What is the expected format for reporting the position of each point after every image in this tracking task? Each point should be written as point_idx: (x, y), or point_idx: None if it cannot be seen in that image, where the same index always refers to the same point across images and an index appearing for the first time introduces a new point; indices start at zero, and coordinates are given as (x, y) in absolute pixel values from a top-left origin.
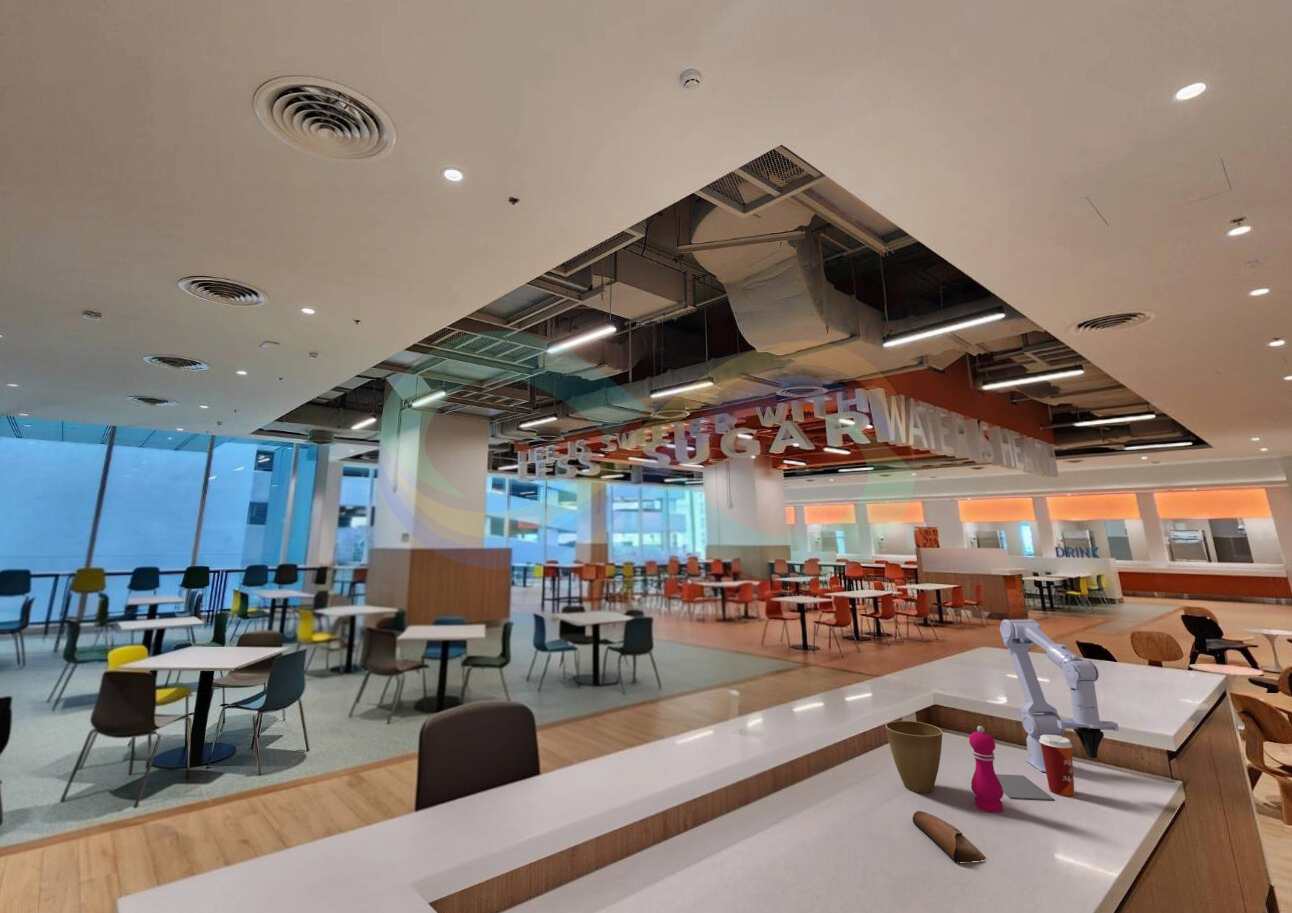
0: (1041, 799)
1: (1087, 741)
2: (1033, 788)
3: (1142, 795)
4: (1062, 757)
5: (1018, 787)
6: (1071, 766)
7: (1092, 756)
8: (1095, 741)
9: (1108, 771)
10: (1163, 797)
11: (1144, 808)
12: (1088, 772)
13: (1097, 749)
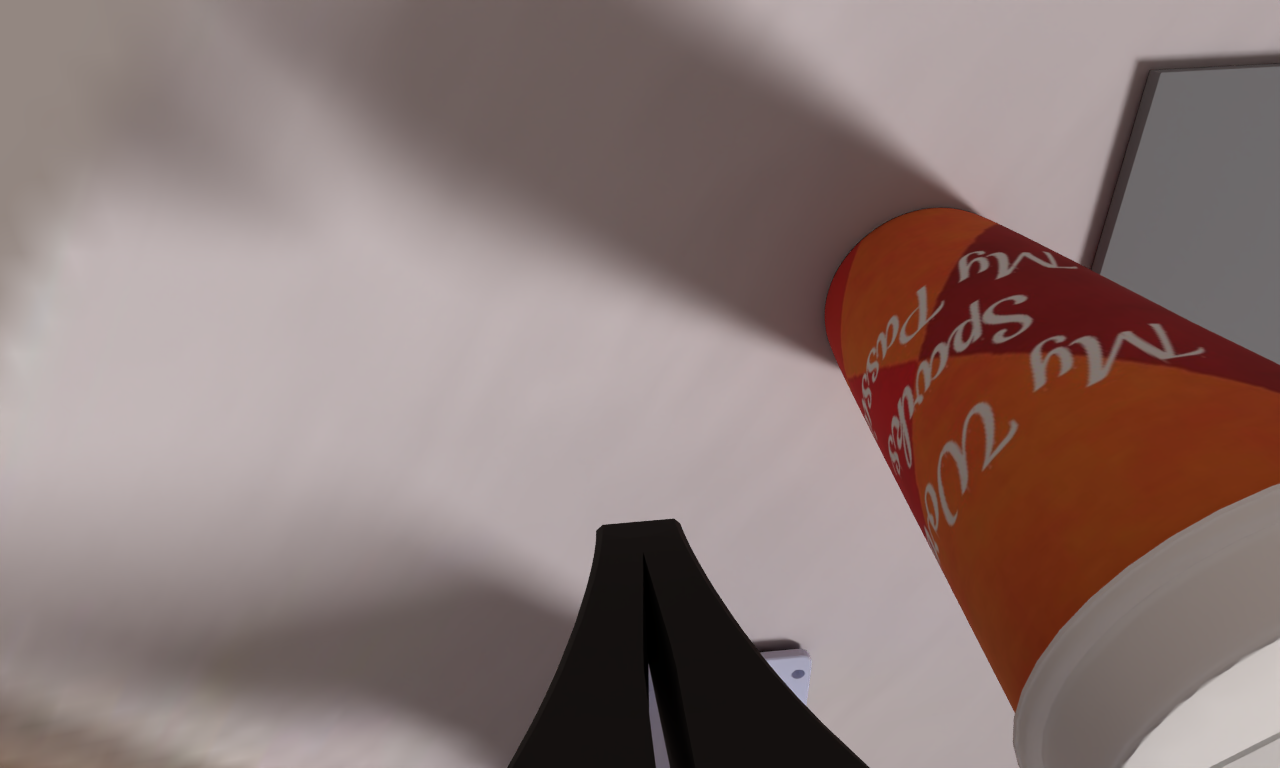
0: (1277, 65)
1: (813, 725)
2: None
3: (192, 359)
4: (1253, 374)
5: (1271, 309)
6: (1005, 352)
7: (665, 533)
8: (631, 748)
9: (289, 745)
10: (2, 347)
11: (299, 10)
12: (449, 705)
13: (585, 620)
